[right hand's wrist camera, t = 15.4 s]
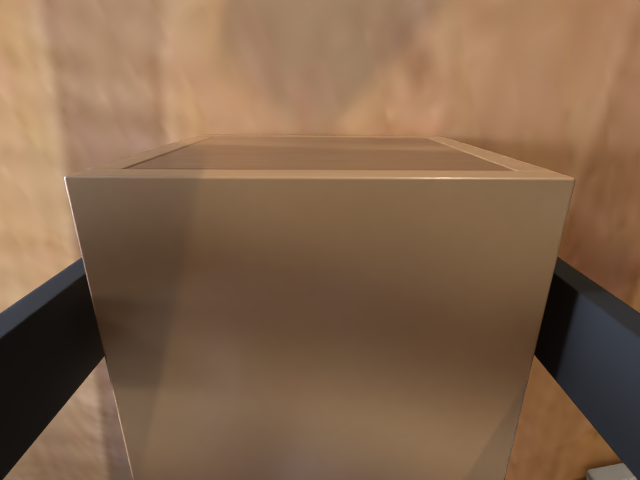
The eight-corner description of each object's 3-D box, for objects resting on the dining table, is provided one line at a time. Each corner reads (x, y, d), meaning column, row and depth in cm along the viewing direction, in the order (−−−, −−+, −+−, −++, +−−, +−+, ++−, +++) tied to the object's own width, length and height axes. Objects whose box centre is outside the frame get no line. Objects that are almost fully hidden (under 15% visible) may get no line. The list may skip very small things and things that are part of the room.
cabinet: (404, 467, 25) (455, 687, 16) (232, 466, 25) (179, 686, 16) (441, 135, 18) (577, 178, 8) (198, 134, 18) (61, 175, 8)
